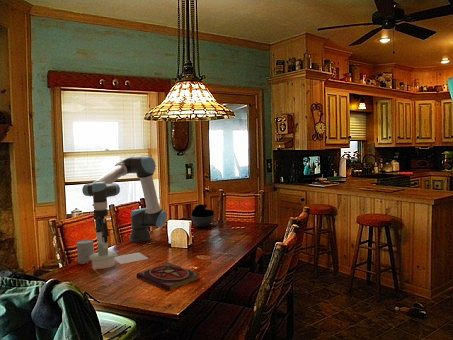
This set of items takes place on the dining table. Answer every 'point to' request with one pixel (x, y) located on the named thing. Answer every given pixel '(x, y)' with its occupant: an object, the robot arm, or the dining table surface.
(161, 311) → the dining table surface
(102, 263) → the ceramic bowl
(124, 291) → the dining table surface
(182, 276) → the book
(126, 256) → the grey mat
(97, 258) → the sage lid
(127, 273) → the dining table surface
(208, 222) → the bowl of black rocks
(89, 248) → the grey cylindrical piece
